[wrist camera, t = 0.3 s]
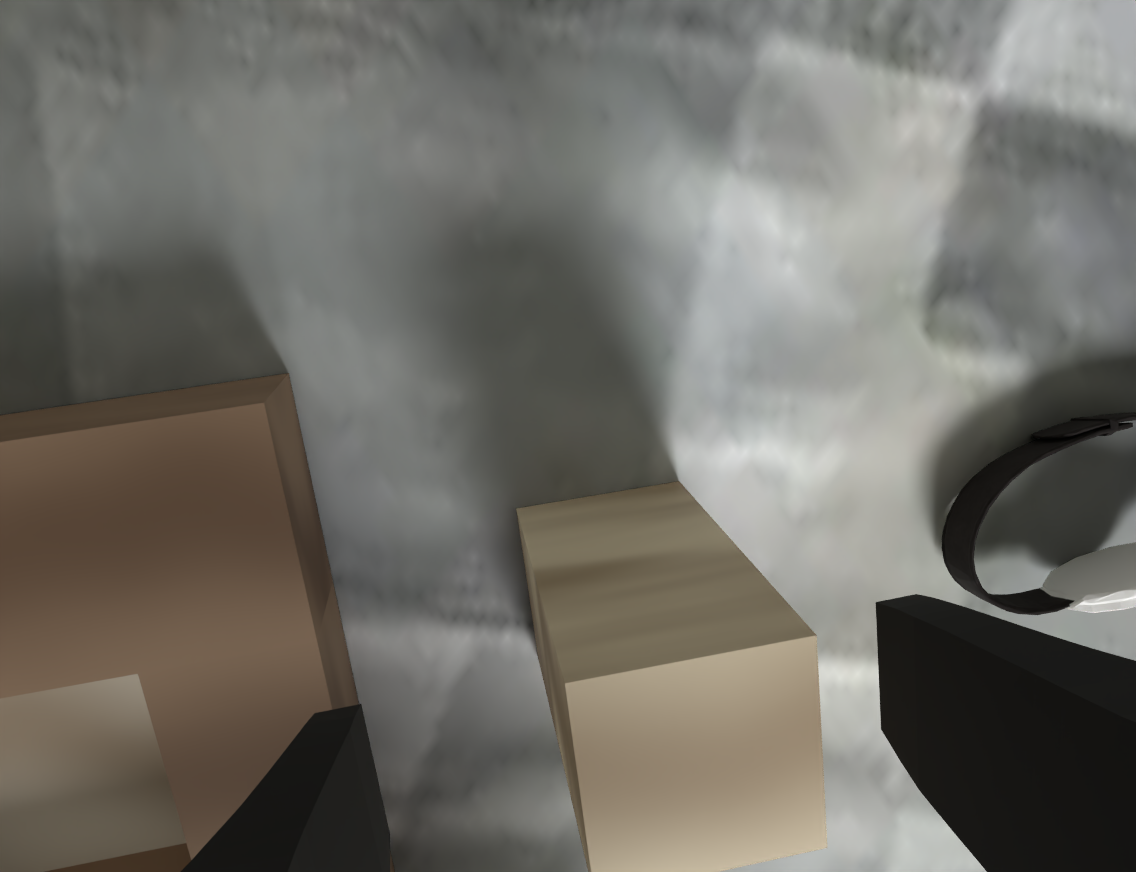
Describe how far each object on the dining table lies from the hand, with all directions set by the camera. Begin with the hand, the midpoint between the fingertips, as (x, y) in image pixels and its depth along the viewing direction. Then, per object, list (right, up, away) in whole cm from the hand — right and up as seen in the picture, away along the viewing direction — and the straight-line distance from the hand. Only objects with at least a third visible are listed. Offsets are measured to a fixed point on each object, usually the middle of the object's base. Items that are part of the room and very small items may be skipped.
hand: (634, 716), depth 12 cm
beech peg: (0, +1, +10) cm, 10 cm away
